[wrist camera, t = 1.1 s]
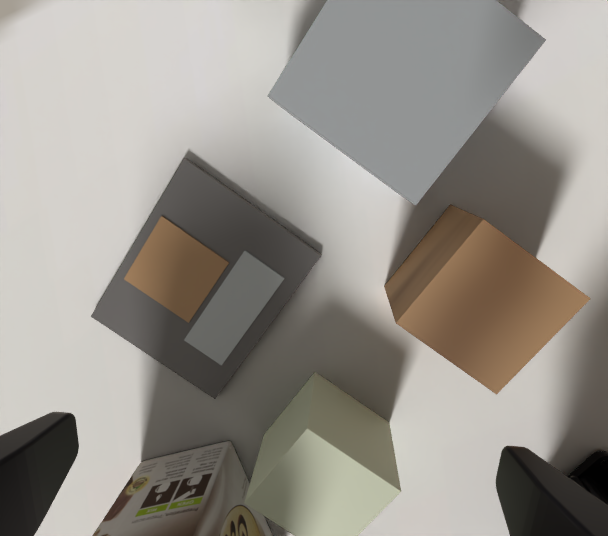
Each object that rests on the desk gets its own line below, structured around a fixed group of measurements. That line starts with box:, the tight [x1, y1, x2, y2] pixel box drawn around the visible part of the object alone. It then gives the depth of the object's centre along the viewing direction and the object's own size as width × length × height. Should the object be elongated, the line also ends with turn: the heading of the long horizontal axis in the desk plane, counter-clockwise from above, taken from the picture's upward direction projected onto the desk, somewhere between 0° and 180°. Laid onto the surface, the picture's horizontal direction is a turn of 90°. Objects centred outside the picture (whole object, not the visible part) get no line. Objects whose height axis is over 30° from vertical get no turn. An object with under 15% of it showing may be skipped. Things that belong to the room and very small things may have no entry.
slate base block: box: [268, 0, 546, 206], centre depth 17 cm, size 7×7×4 cm
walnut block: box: [384, 205, 590, 394], centre depth 18 cm, size 5×5×5 cm
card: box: [91, 158, 321, 399], centre depth 22 cm, size 8×10×1 cm
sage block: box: [244, 372, 401, 536], centre depth 21 cm, size 5×5×5 cm
